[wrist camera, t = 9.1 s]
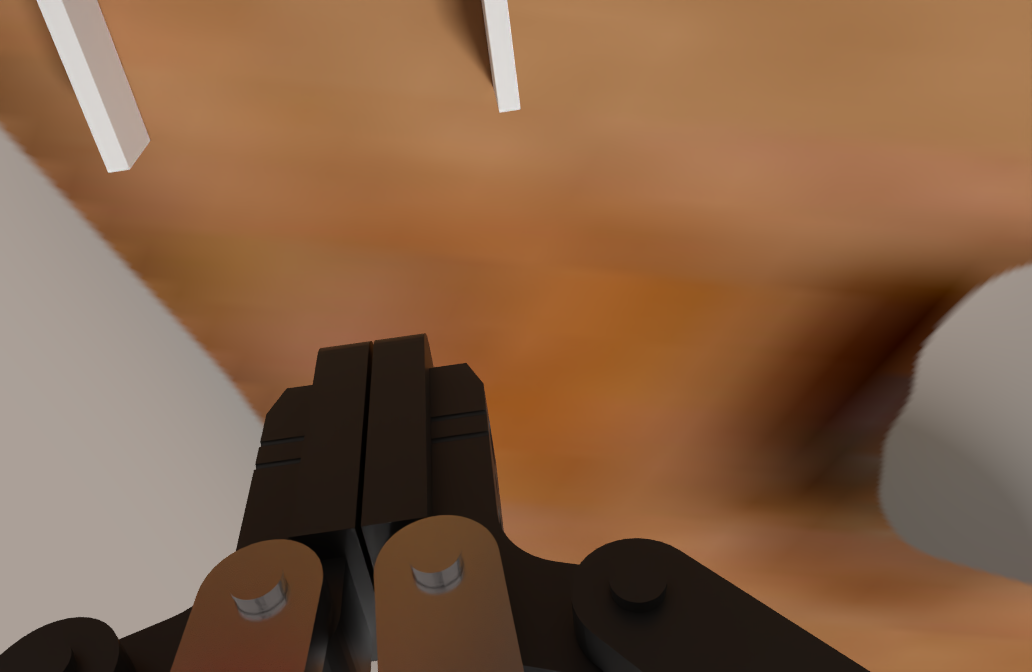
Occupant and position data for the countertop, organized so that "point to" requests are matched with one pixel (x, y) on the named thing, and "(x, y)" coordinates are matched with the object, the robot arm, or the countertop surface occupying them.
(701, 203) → the countertop surface
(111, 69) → the tray
